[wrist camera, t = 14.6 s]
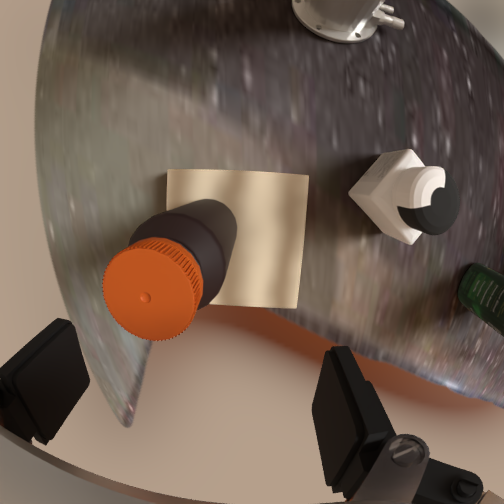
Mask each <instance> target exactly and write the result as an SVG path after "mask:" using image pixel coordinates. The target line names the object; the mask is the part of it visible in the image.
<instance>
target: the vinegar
mask: <svg viewBox="0 0 504 504" xmlns="http://www.w3.org/2000/svg"><path fill="white" fill-rule="evenodd" d="M236 236H237V223H236V219H235V216H234V215H233V213H232V211H231V210H230V209H229V208H228V207H227V206H226V205H225V204H224V203H222V202H219V201H217V200H214V199H202V200H197V201H194V202H191V203H188V204H185V205H183V206H180V207H177V208H174V209H171V210H169V211H166V212H163V213H160V214H158V215H155V216H153V217H151V218H150V219H148V220H147V221H145V222H144V223H143V224H141V225H140V226H139V227H138V228H137V230H136V231H135V233H134V234H133V235H132V237H131V238H130V242H129V245H128V247H127V248H125V249H124V250H122V251H120V252H119V253H117V255H115V256H114V258H112V260H111V261H110V262H109V263H110V264H108V265H107V266H108V267H107V268H105V269H106V271H105V272H104V273H105V275H103V276H104V279H102V280H103V283H102V284H103V287H102V288H103V291H102V292H104V295H103V296H104V300H105V301H106V304H107V307H108V309H109V311H110V313H111V314H112V316H113V318H115V320H116V321H117V322H118V324H120V325H121V327H123V328H125V329H126V330H127V331H128V332H130V333H131V334H134V335H135V336H138V337H140V338H142V339H146V340H147V339H149V340H150V341H151V340H153V341H156V340H157V341H159V340H161V341H162V340H166V339H170V338H173V337H174V336H175V337H176V336H177V334H178V335H180V333H183V330H186V328H187V327H188V326H189V325H190V323H191V322H192V319H193V318H194V315H195V313H196V311H197V310H199V309H201V308H203V307H205V306H207V305H208V304H209V303H210V302H211V301H212V300H213V299H214V298H215V297H216V296H217V295H218V293H219V292H220V289H221V287H222V285H223V282H224V280H225V277H226V274H227V270H228V266H229V262H230V259H231V255H232V251H233V248H234V244H235V240H236Z"/></svg>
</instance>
